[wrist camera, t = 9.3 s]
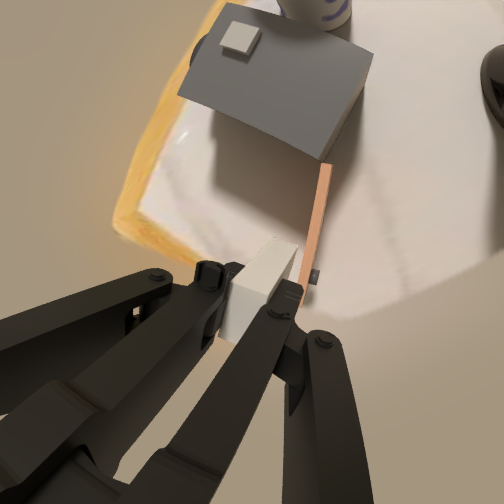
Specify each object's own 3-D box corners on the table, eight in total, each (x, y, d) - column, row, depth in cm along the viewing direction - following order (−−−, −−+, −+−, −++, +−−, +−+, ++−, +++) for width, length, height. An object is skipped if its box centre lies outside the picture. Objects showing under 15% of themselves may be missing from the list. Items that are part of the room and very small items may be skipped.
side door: (325, 162, 35) (321, 162, 26) (341, 166, 35) (342, 167, 25) (304, 272, 40) (292, 305, 31) (318, 275, 40) (310, 309, 31)
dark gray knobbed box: (364, 85, 31) (374, 50, 19) (324, 160, 36) (317, 159, 24) (242, 35, 33) (203, -5, 21) (206, 104, 38) (154, 87, 26)
